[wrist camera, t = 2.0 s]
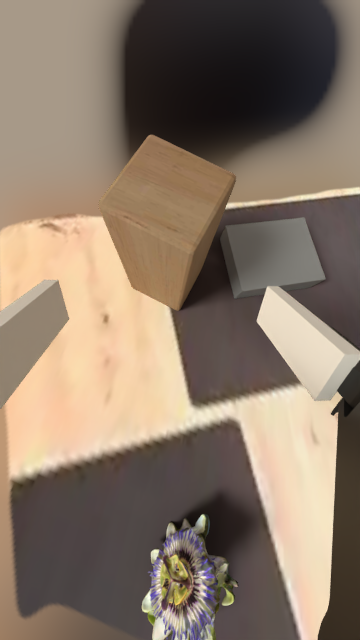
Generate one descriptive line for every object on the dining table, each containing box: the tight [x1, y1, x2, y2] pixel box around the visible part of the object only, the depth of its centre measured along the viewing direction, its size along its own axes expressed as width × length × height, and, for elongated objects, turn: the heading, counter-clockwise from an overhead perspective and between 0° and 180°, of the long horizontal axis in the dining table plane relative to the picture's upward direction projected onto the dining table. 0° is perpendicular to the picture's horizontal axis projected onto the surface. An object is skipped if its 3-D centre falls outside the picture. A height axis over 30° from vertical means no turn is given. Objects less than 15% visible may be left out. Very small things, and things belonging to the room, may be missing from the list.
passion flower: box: [142, 514, 238, 640], centre depth 25 cm, size 11×11×12 cm
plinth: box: [220, 218, 326, 299], centre depth 38 cm, size 16×13×4 cm
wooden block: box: [99, 135, 236, 311], centre depth 28 cm, size 10×10×20 cm
